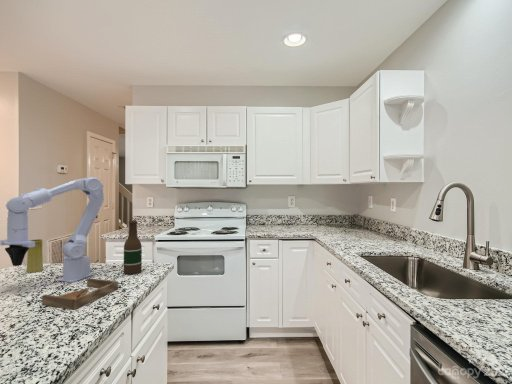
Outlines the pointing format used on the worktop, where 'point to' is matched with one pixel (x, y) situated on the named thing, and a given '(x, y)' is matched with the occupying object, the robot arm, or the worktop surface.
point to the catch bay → (74, 304)
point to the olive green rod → (35, 257)
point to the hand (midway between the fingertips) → (17, 265)
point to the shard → (75, 294)
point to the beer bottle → (132, 251)
